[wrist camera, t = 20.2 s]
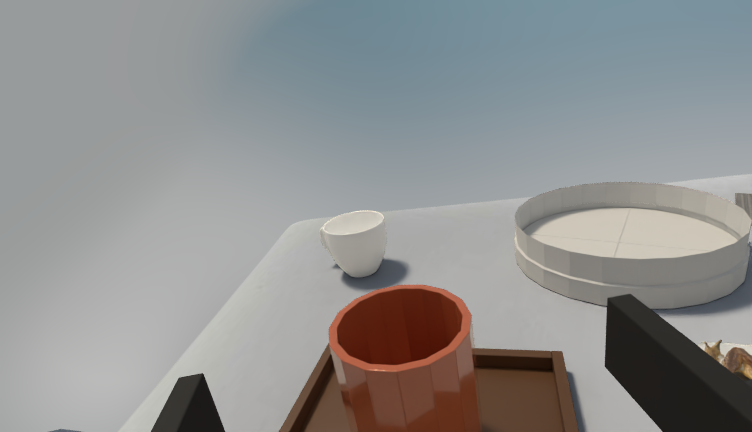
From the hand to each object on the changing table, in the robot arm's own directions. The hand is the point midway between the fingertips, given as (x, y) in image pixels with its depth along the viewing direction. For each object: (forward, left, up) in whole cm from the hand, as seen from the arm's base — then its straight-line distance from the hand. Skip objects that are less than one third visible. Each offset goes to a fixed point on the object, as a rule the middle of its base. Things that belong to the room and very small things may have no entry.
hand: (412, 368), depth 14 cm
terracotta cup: (-3, +9, -15) cm, 18 cm away
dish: (+15, +37, -15) cm, 43 cm away
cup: (-16, +35, -15) cm, 42 cm away
